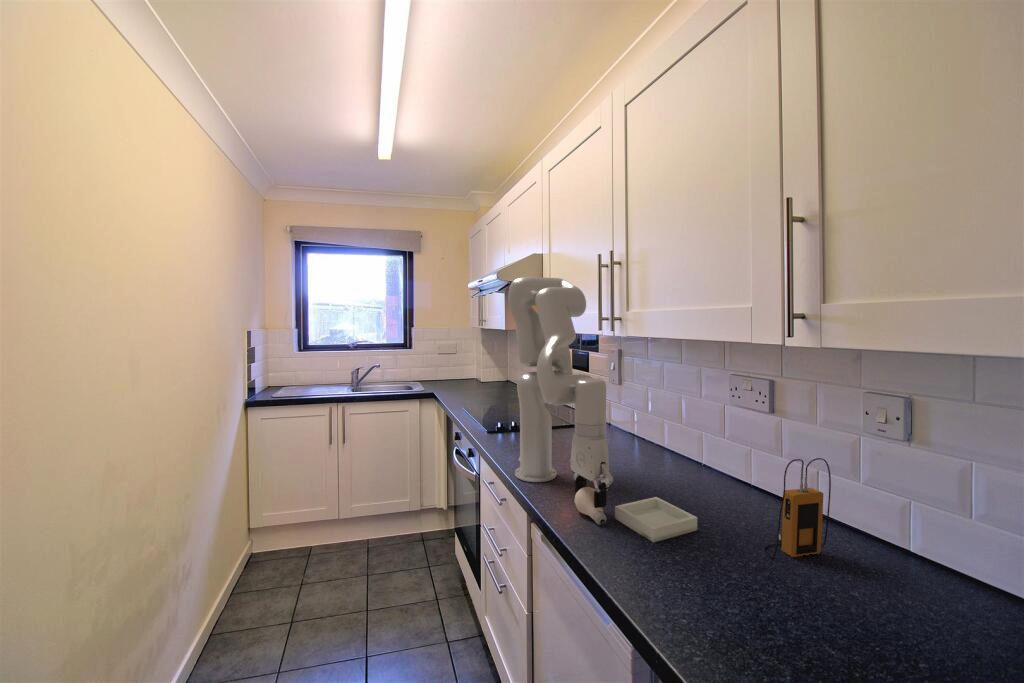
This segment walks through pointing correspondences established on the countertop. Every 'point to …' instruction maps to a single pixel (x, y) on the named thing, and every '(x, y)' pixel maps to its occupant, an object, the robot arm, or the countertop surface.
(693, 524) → the tray
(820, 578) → the countertop surface
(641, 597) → the countertop surface
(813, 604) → the countertop surface
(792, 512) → the multimeter
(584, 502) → the light bulb
